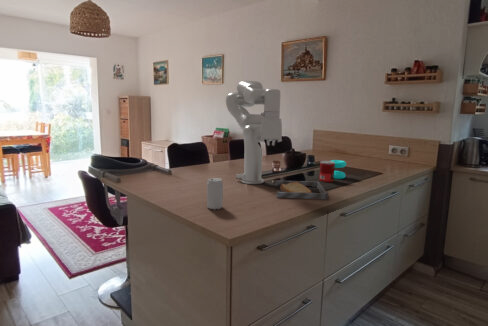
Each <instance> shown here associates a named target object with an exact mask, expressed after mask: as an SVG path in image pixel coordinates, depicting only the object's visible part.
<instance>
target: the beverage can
mask: <svg viewBox="0 0 488 326" xmlns="http://www.w3.org/2000/svg"><path fill="white" fill-rule="evenodd" d="M223 193H224V182H223V179H222V178H219V177H212V178H208V179H207V182H206V200H207V201H206V207H207V208H208V210H212V209H213V211H215V210H216V209H217V210H221V209H222V208H223V206H224V205H223V204H224V203H223V200H224V199H223V195H224V194H223Z"/></svg>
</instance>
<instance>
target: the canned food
mask: <svg viewBox="0 0 488 326" xmlns="http://www.w3.org/2000/svg"><path fill="white" fill-rule="evenodd" d="M335 169H336V168H335V162H333V161H331V160H321V161H320V162H319V181H320V182H322V183H333V182H334V180H335V179H334V171H335Z"/></svg>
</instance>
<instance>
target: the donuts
mask: <svg viewBox="0 0 488 326" xmlns="http://www.w3.org/2000/svg"><path fill="white" fill-rule="evenodd" d="M330 161H333V162H335V169H342V168H345V167H346V166H347V162H346V161H345V160H342V159H341V160H339V159H332V160H330ZM345 178H346V173H345V172H344V171H341V170H334V180H335V179H336V180H338V179H339V180H341V179H345Z"/></svg>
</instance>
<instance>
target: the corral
mask: <svg viewBox="0 0 488 326" xmlns="http://www.w3.org/2000/svg"><path fill="white" fill-rule="evenodd" d="M293 182H298V183H300V184H302V185H304V186H312V188H314V187H315V188H317V190H318V189H319V190H318V191H319V192H311V193H300V192H283V191H276V193H275V194H276V198H277V199H279V198H280V199H303V200H304V199H305V200H307V199H309V200H313V199H314V200H328V198H329V197H328V196H329V193H327V191H326V190H325V188H324V187H323V185H322V184H321V182H319V181H311V180H309V181H307V180H305V181H304V180H303V181H302V180H300V181H299V180H276V179H274V186H275V187H277V186H281V184H285V185H286V184H289V183H293Z"/></svg>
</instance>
